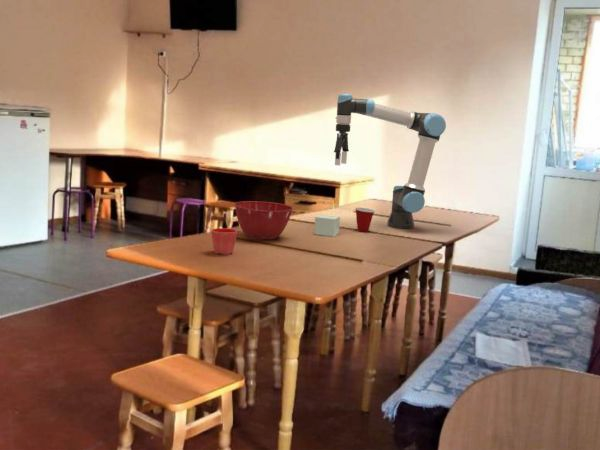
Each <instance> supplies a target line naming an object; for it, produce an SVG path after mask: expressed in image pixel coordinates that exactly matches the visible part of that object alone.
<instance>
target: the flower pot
mask: <svg viewBox="0 0 600 450" xmlns="http://www.w3.org/2000/svg"><path fill="white" fill-rule="evenodd" d="M210 232H211V239H212V245H213V250H214V251H213V252H214V253H215V252H216V253H215V254H217V253H221V254H220V255H231V254H230V253H232V254H233V252H234V249H235V245H236V241H237V240H236V239H237V236H238V230H237V229H233V228H226V227H225V228H224V227H222V228H220V227H218V228H212V229H211V230H210Z"/></svg>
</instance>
